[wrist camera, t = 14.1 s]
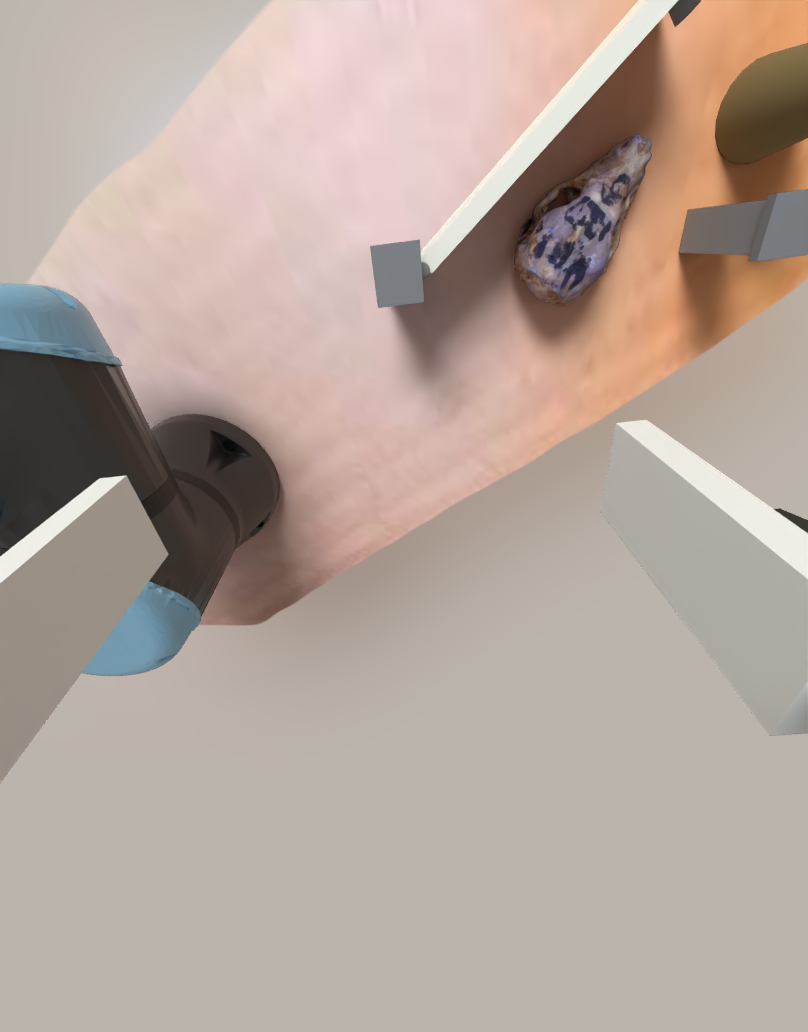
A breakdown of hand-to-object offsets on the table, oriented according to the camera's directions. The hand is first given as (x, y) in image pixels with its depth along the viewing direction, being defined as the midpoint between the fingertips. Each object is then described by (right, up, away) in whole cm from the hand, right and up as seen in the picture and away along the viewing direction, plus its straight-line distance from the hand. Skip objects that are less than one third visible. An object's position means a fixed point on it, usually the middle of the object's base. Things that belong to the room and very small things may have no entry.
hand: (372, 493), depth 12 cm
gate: (+10, +27, +20) cm, 35 cm away
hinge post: (0, +21, +24) cm, 32 cm away
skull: (+15, +23, +23) cm, 36 cm away
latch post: (+26, +23, +23) cm, 42 cm away
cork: (+27, +29, +19) cm, 44 cm away
